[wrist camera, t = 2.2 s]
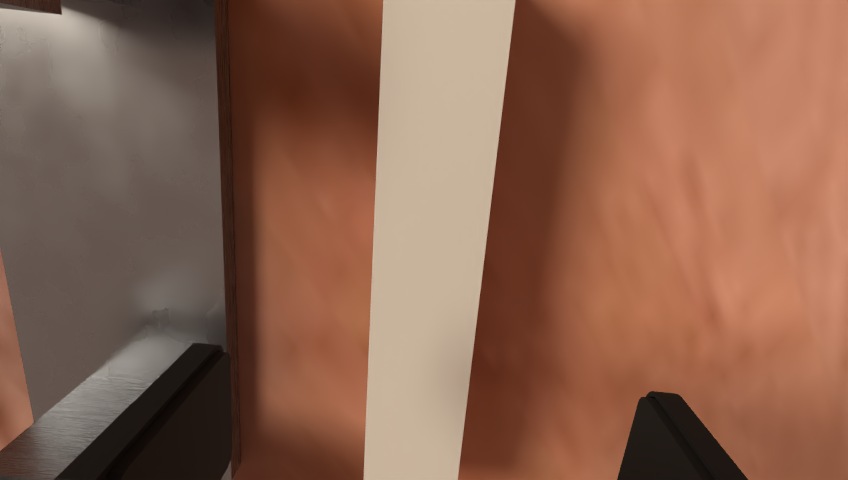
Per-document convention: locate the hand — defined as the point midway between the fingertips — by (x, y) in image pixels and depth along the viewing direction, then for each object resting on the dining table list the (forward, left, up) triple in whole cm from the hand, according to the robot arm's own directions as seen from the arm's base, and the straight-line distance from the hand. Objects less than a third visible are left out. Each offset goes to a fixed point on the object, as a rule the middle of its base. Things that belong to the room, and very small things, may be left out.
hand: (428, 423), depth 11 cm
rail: (-1, 0, -12) cm, 12 cm away
